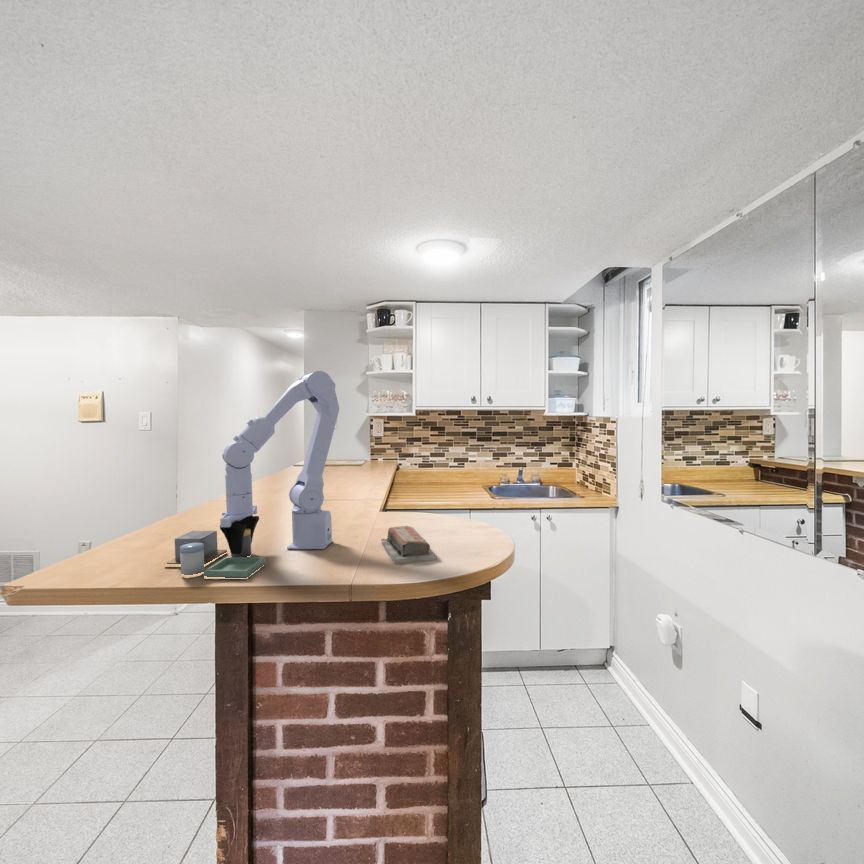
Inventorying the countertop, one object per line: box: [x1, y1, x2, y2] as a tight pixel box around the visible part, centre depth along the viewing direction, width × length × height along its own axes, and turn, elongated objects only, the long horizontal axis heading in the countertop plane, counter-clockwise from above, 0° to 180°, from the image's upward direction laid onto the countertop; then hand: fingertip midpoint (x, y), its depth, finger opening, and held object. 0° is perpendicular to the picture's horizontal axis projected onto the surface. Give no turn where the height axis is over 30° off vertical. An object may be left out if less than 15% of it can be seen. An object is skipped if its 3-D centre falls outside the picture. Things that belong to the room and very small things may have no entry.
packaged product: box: [380, 525, 438, 565], centre depth 111 cm, size 18×5×10 cm
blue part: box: [180, 543, 206, 575], centre depth 97 cm, size 4×4×6 cm
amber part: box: [230, 528, 252, 557], centre depth 109 cm, size 4×4×6 cm
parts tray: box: [203, 556, 266, 578], centre depth 98 cm, size 9×9×2 cm
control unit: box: [165, 530, 228, 564], centre depth 107 cm, size 9×10×6 cm
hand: (241, 550), depth 110 cm, fingers closed on amber part, 4 cm apart
